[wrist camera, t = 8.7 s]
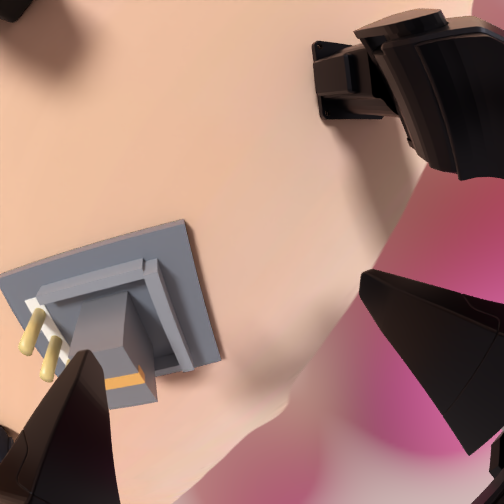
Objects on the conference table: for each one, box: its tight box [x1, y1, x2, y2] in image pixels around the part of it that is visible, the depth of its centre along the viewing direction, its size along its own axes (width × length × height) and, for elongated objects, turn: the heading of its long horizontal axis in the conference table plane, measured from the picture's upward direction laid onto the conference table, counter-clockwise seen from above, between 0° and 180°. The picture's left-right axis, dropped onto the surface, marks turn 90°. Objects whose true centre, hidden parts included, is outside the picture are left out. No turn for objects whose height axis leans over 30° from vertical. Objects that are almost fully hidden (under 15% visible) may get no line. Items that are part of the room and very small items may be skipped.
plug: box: [68, 291, 158, 410], centre depth 18 cm, size 4×6×6 cm
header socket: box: [0, 219, 221, 382], centre depth 18 cm, size 17×14×6 cm
